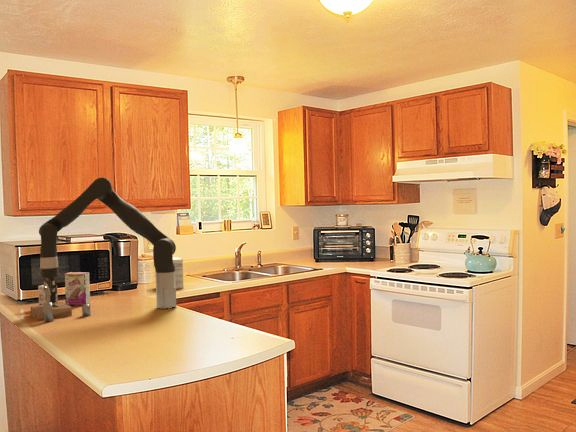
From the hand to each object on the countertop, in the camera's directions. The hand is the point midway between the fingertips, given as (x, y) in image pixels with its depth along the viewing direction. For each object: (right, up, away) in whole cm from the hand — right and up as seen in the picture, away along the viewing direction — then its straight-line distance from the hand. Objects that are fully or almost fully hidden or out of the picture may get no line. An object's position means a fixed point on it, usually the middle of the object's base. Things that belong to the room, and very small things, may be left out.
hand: (50, 301), depth 235 cm
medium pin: (+5, -6, -13) cm, 15 cm away
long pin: (0, -6, 0) cm, 6 cm away
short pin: (+18, -6, -3) cm, 19 cm away
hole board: (0, -6, 0) cm, 6 cm away
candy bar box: (+2, -6, +25) cm, 26 cm away
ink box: (-9, -6, +16) cm, 19 cm away
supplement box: (+39, -4, +72) cm, 82 cm away
